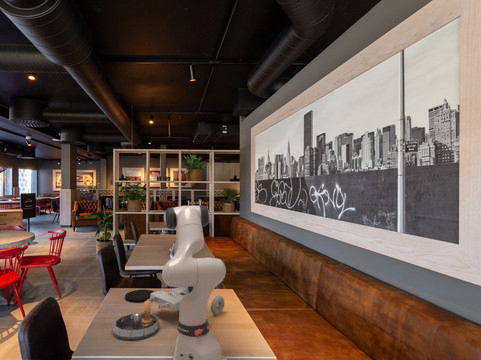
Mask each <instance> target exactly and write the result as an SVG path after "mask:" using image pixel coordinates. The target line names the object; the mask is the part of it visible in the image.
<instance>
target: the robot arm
mask: <svg viewBox="0 0 481 360" xmlns="http://www.w3.org/2000/svg"><path fill="white" fill-rule="evenodd" d="M210 219H211V213H210V210H209V208H208V206H206V205H204V204H203V205H202V204H201V205H199V204H198V205H181V206H175V207H169V208H166V210H165V211H164V214H163V222H164V225H165V227H166V228H167V229H169V230H176V231H175V232H176V233H175V234H176V239H175V241H174V242H173V248H172V257H171V258H170V259H169V260H168V261H167V262H166V263H165V264H164V265H163V268H162V272H161V276H162V277H161V278H162V281H163V282H164V284H165V285H166V286H167V287H171V288H172V289H170V290H169V291H168V292H167V291H164V290H160V291H159V290H158V291H154V292H153V293H151V295H150V299H148V300H147V301H151V304H152V303H153V302H154V303H156V304H158V307H157V308H158V309H159V310H163V309H169V310H172V311H179V314H178V315H179V316H178V319H177V320H178V321H177V337H176V340H175V347H174V352H173V356H172V357H173V358H172V360H228V358H227V357H226V356H225V355H223V354H222V347H221V345H220V343H219V340H218V339H217V338H216V337H214V335H213V334H212V332H211V331H210V329H211V328H212V327H211V326H212V324H209V321H208V305H209V300H210V297H211V295H212V293H213V291H214V290H215V289H216V287H218V285H220V284H221V283H222V282H224V279H225V277H226V273H227V268H226V264H225V263H224V261H223V260H222V259H221V258H216V257H215V258H214V257H193V256H194V255H196V254H197V253H199V252H200V251H201V250H202V249H203V248H204V246H205V237H204V232H203V227H206V226H208V224H209V223H210Z"/></svg>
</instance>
